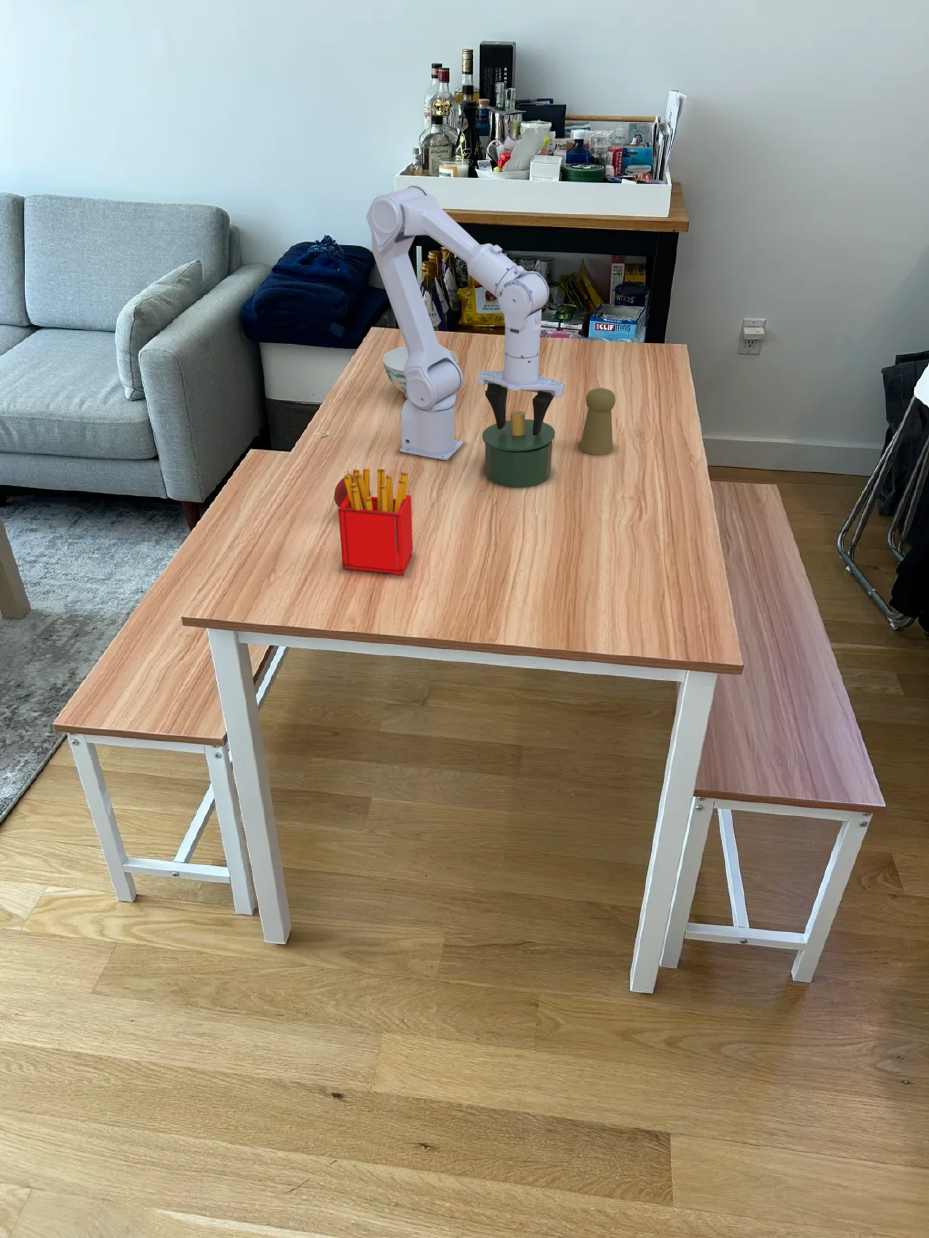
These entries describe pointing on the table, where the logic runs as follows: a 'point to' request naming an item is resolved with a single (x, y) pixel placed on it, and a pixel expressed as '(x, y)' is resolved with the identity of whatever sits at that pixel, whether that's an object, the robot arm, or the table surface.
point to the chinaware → (400, 366)
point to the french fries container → (376, 524)
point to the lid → (517, 434)
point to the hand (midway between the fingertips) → (518, 430)
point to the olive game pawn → (598, 422)
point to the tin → (518, 466)
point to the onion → (342, 490)
